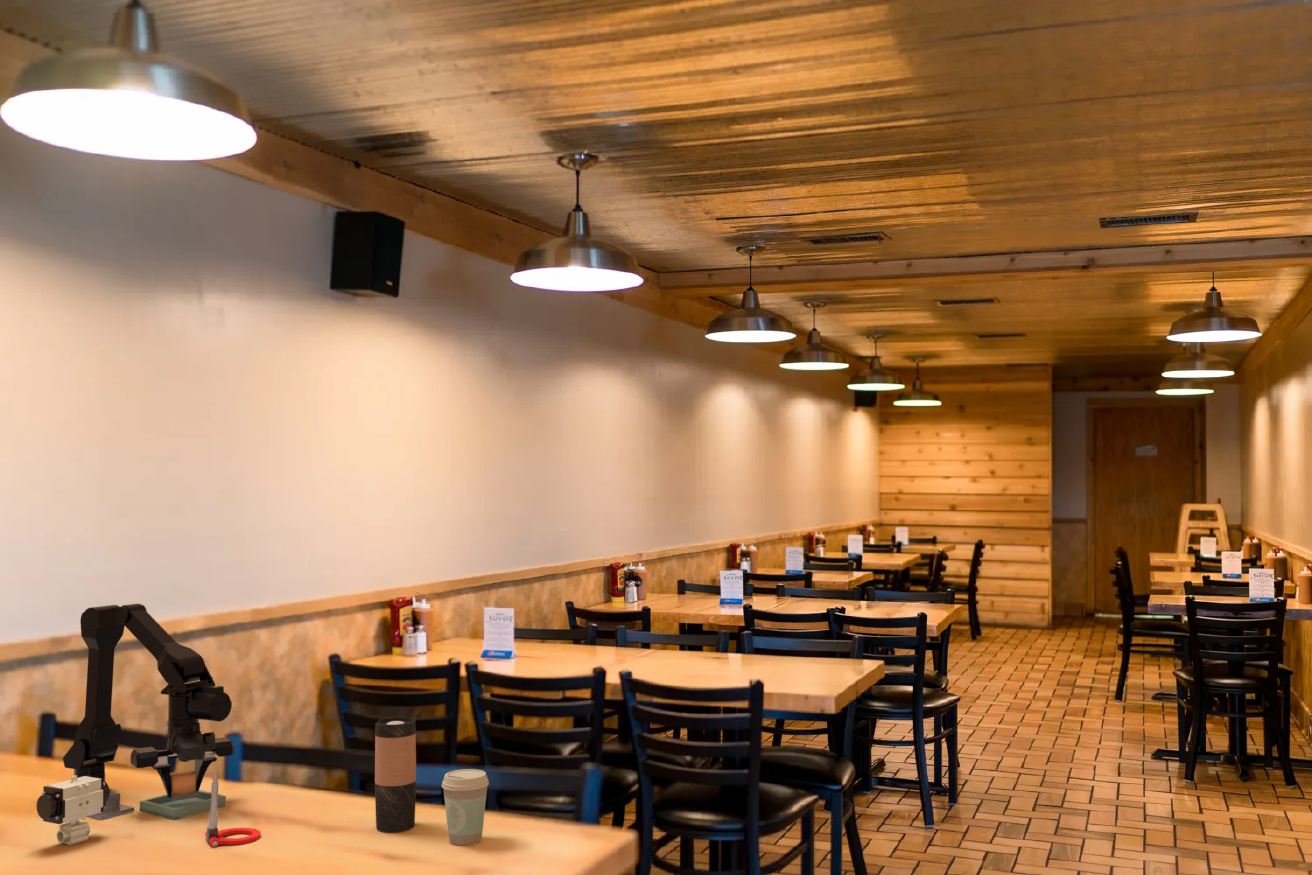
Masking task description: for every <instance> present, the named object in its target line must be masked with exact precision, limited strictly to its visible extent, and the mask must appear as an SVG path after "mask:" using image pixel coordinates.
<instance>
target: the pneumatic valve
mask: <svg viewBox="0 0 1312 875" xmlns="http://www.w3.org/2000/svg"><path fill="white" fill-rule="evenodd" d="M70 777H71V778H70V779H68V780H65V781H60V782H55V783H52V784H48V785H45V786H43V787H42V788H43V789H42V790H43V791H42V792H41V795H40V796H39V797H38V798H37V800H36V812H37V815H38V817H39V818H41V819H42V821H43V822H45V823H51V824H57V825H59V826H58V831H57V832H56V839H57V842H58V844H66V845H68V846H75V845H78V844H80V843H85V842H86V841H88V839H90V838H89V834H90V832H91V826H90V825H89V824H90V823H89V822H87V821H80V820H86V819H87V818H86V817H87V816H90V815H94V814H97V813H101V812H104V806H106V802H107V801H108V799H109V796H110V787H109V784H108V782H107V781H106V780H105V781H104V778H101V777H95V776H89V775H87V776H83V777H79V778H77V776H76V775H75V776H74V775H72V776H70Z"/></svg>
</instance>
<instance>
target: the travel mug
mask: <svg viewBox="0 0 1312 875" xmlns="http://www.w3.org/2000/svg"><path fill="white" fill-rule="evenodd" d="M374 725H375V726H374V727H375V728H374V730H375V734H374V735H375V737H374V738H375V739H374V740H375V741H374V742H375V743H374V749H375V750H374V799H375V800H374V802H375V804H374V806H375V824H376V825H375V827H376V830H377V831H378V832H381V833H395V834H396V833H403V832H406V831H410V830H412V829H414V827H415V824H416V823H415V822H416V795H417V792H416V791H417V749H416V748H417V746H416V745H417V743H416V740H417V735H416V734H417V733H416V732H417V731H416V730H417V729H416V728H417V727H416V725H417V724H416V719H415V718H413V717H408V716H393V717H390V716H389V717H384V718H380V719H378V720H377V722H375V724H374Z"/></svg>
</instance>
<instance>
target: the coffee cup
mask: <svg viewBox="0 0 1312 875" xmlns="http://www.w3.org/2000/svg"><path fill="white" fill-rule="evenodd" d="M441 783H442V784H441V788H443V797H444V798H443V799H444V807H445V808H444V809H445V814H446V815H445V816H446V824H447V825H446V826H447V833H448V841H449V843H450V844H452V845H455V846H472V845H475V844H474V843H476V844H478V843H480V842H481V841H482V838H483V830H484V823H485V822H484V820H485V811H486V810H485V809H486V803H487V802H486V801H487V793H488V792H487V791H488V786H490V785H489V784H490V782H489V778H488V776H487V772H486V771H484V770H482V769H476V768H470V769H469V768H463V769H462V768H461V769H457V770H452V771H448V772H446V773H445V774H444V776H443V780H442V782H441ZM471 844H472V845H471Z"/></svg>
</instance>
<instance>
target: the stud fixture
mask: <svg viewBox="0 0 1312 875" xmlns="http://www.w3.org/2000/svg"><path fill="white" fill-rule="evenodd" d="M133 812H135V807H134V806H130V805H126V804H122V803H121V793H120V792H117V791H113V790H112V791H110V796H109V799H108V801H107V802H106V806H104V812H101V813H97V814H94V815H90V816H87V817H88V818H92V819H96V820H99V821H103V820H106V819H110V818H114V817H118V816H122V815H125V814H129V813H133Z"/></svg>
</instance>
